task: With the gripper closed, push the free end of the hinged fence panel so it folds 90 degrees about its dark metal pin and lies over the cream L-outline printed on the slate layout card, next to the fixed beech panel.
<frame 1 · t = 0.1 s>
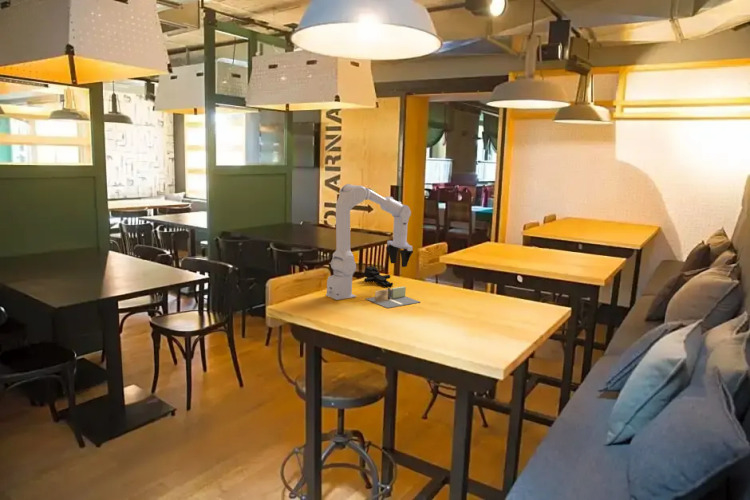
hand: (398, 264, 229), 10 cm above the table, fingers open, 7 cm apart
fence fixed: (388, 299, 212), resting on layout card
layout card: (392, 300, 211), on the table
fence panel: (397, 292, 214), point 2 cm above the table, hinge at 0.0°
toy: (378, 284, 237), on the table
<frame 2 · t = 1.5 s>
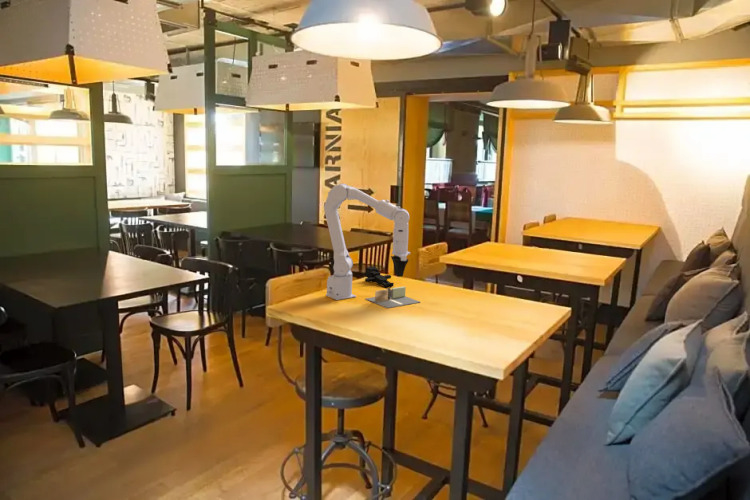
hand: (398, 275, 210), 10 cm above the table, fingers open, 3 cm apart
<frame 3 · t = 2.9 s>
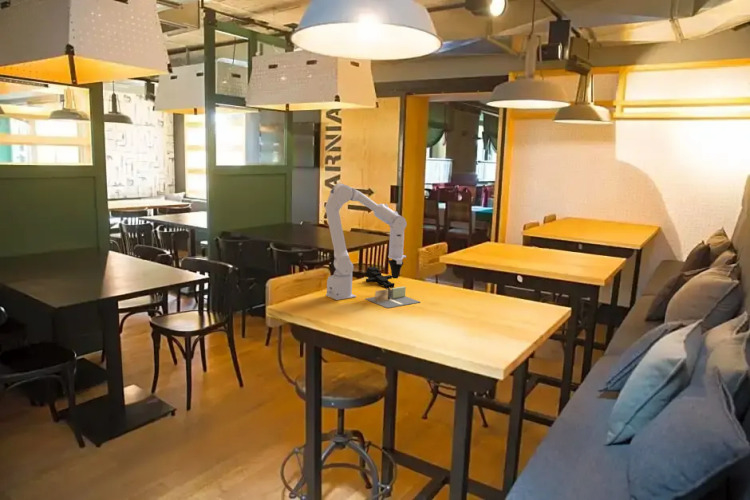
hand: (395, 278, 219), 7 cm above the table, fingers closed
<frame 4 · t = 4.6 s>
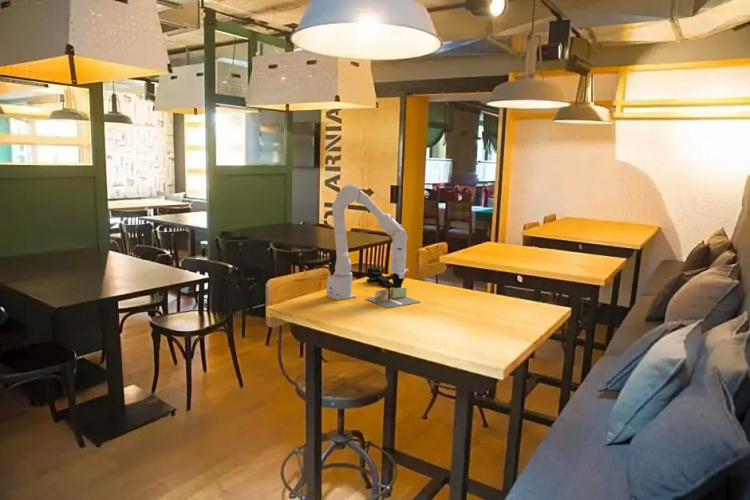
hand: (397, 291, 215), 2 cm above the table, fingers closed, pressing on fence panel
fence panel: (398, 292, 214), point 2 cm above the table, hinge at 5.0°, touching gripper
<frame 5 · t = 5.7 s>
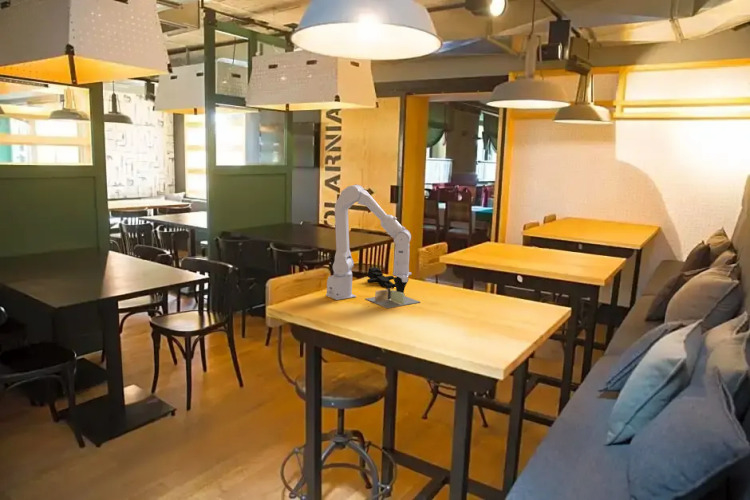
hand: (399, 295, 210), 2 cm above the table, fingers closed, pressing on fence panel
fence panel: (396, 296, 208), point 2 cm above the table, hinge at 83.6°, touching gripper
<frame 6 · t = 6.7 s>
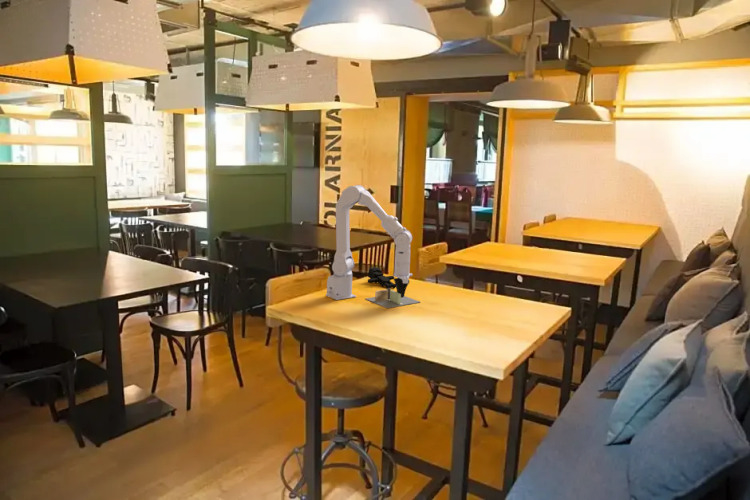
hand: (400, 297, 208), 2 cm above the table, fingers closed
fence panel: (394, 296, 208), point 2 cm above the table, hinge at 97.3°, touching gripper
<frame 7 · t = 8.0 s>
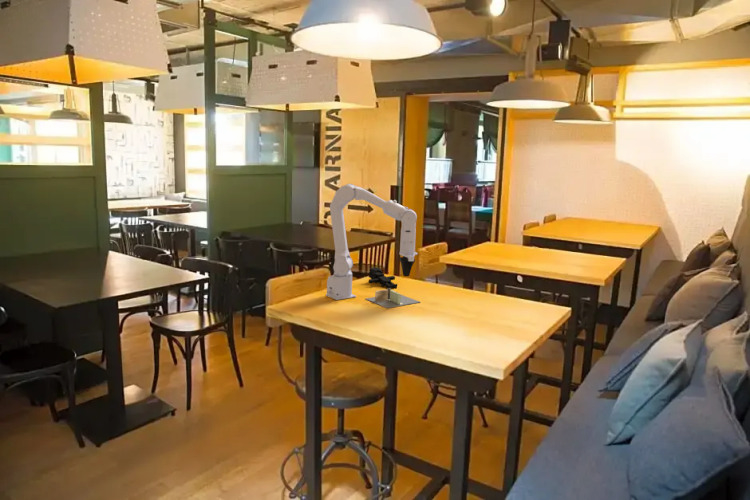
hand: (406, 275, 210), 10 cm above the table, fingers closed
fence panel: (394, 296, 208), point 2 cm above the table, hinge at 97.7°
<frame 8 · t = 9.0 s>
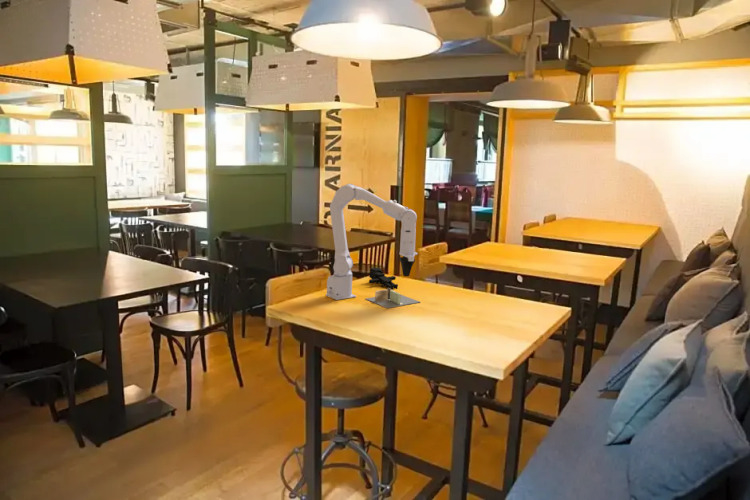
hand: (406, 275, 210), 10 cm above the table, fingers closed
at the end: fence panel at +98° (first picture: +0°); fence panel touching nothing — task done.
